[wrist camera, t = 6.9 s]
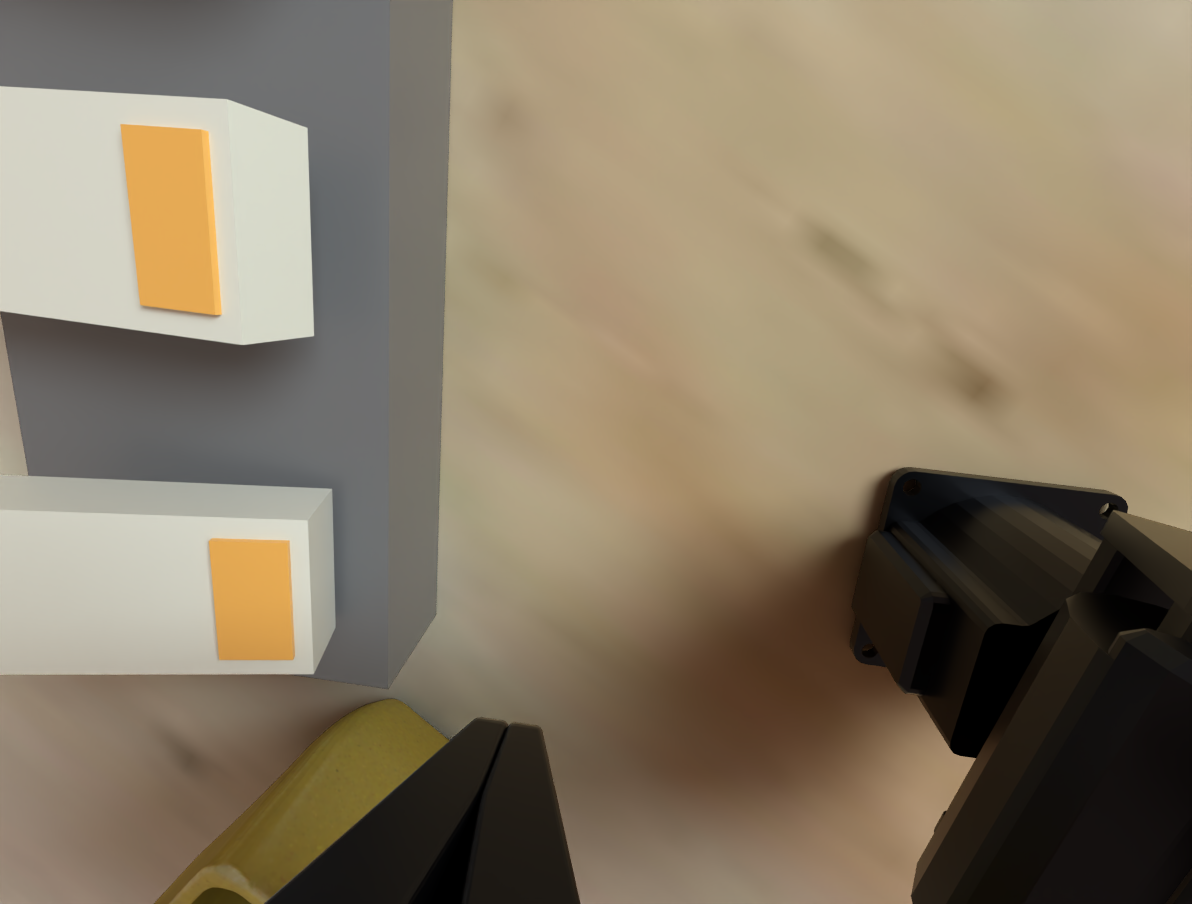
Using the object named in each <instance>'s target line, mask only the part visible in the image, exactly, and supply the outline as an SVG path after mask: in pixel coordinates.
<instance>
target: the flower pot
mask: <svg viewBox="0 0 1192 904" xmlns="http://www.w3.org/2000/svg"><path fill="white" fill-rule="evenodd" d="M448 742H449V740H448V739H447V738H446V737H444V736H443V735H442V734H441V733H439V732H438V731H437V730H436V729H435V728H433V727H432V726H431V725H430V724H429V723H427V722H426V721H425V720H424V719H422V718H421V717H420V716H419V715H418V714H416V713H415V712H414V711H413V710H412V709H411V708H410V707H408V706H407V705H406V704H404V703H403V702H401V701H399V700H396V699H386V700H381V701H377V702H374V703H370V704H367V705H365V706H362V707H360V708H358V709H356V710H354V711H352V712H350V713H349V714H347V715H346V716H344V717H343V718H341V719H340V720H339V721H337V722H336V723H335V724H333V725H332V726H331V727H330V728H328V729H327V730H326V731H325V732H324V733H323V734H322V735H320V736H319V737H318V738H317V739H316V740H315V741H314V742H313V743H312V744H311V745H310V746H309V747H308V748H307V749H306V750H305V751H304V752H303V753H302V754H301V755H300V756H299V757H298V758H297V759H296V760H295V762H294V763H293V764H292V765H291V766H290V767H289V768H288V769H287V770H286V771H285V772H284V773H283V774H282V775H281V776H280V777H279V778H278V779H277V780H276V781H275V782H274V783H273V784H272V785H271V786H270V787H269V788H268V789H267V790H266V791H265V792H264V793H263V794H262V795H261V796H260V797H259V798H258V799H257V800H256V801H255V802H254V803H253V804H252V805H251V806H250V807H249V808H248V809H247V810H246V811H245V812H244V813H243V814H242V815H241V816H240V817H239V818H238V819H237V820H236V821H235V822H233V823H232V824H231V825H230V826H229V827H228V828H227V829H226V830H225V831H224V832H223V833H222V834H221V835H220V836H219V837H218V838H216V839H215V840H214V841H213V842H212V843H211V844H210V845H209V846H208V847H207V848H206V849H205V850H204V851H203V852H202V853H201V854H200V855H199V856H198V857H197V858H196V859H195V860H194V861H193V862H192V863H191V864H190V865H189V866H188V867H187V868H186V869H185V871H184V872H183V873H182V874H181V875H180V876H179V877H178V878H177V879H176V880H175V881H174V882H173V884H172V885H171V886H170V887H169V888H168V889H167V890H166V891H165V892H164V893H163V894H162V896H161V897H160V898H159V899H158V900H157V901H156V902H155V903H154V904H264V903H265V902H266V901H267V900H268V899H269V898H271V897H272V896H273V895H274V894H275V893H276V892H277V891H279V890H280V889H281V888H282V887H283V886H284V885H285V884H287V883H288V882H289V881H290V880H291V879H292V878H293V877H295V876H296V875H297V874H298V873H299V872H300V871H301V870H303V869H304V868H305V867H306V866H307V865H308V864H309V863H311V862H312V861H313V860H314V859H315V858H316V857H317V856H319V855H320V854H321V853H322V852H323V851H324V850H325V849H327V848H328V847H329V846H330V845H331V844H332V843H333V842H334V841H336V840H337V839H338V838H339V837H340V836H341V835H342V834H344V833H345V832H346V831H347V830H348V829H349V828H350V827H352V826H353V825H354V824H355V823H356V822H357V821H358V820H360V819H361V818H362V817H363V816H364V815H365V814H366V813H368V812H369V811H370V810H371V809H372V808H373V807H374V806H376V805H377V804H378V803H379V802H380V801H381V800H382V799H384V798H385V797H386V796H387V795H388V794H389V793H390V792H392V791H393V790H394V789H395V788H396V787H397V786H398V785H400V784H401V783H402V782H403V781H404V780H405V779H406V778H408V777H409V776H410V775H411V774H412V773H413V772H414V771H416V770H417V769H418V768H419V767H420V766H421V765H422V764H424V763H425V762H426V761H427V760H428V759H429V758H430V757H432V756H433V755H434V754H435V753H436V752H437V751H438V750H440V749H441V748H442V747H443V746H444V745H445V744H446V743H448Z"/></svg>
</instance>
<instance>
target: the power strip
mask: <svg viewBox="0 0 1192 904" xmlns="http://www.w3.org/2000/svg"><path fill="white" fill-rule="evenodd" d="M452 5H453V0H0V86H5V87H22V88H40V89H57V90H75V91H93V92H110V93H128V94H145V95H163V96H180V97H198V98H215V99H228V100H231V101H234V102H236V103H239V104H242V105H245V106H248V107H250V108H253V109H256V110H259V111H261V112H264V113H267V114H270V115H273V116H275V117H278V118H281V119H284V120H287V121H289V122H292V123H295V124H298V125H301V126H303V127H306V128H307V129H308V160H309V192H310V223H311V254H312V286H313V317H314V336H311V337H303V338H295V339H287V340H279V341H271V342H263V343H255V344H247V345H239V344H232V343H225V342H217V341H210V340H203V339H196V338H189V337H182V336H175V335H168V334H160V333H153V332H146V331H139V330H132V329H125V328H118V327H110V326H103V325H96V324H89V323H82V322H75V321H68V320H61V319H53V318H46V317H39V316H32V315H25V314H18V313H11V312H4V311H0V313H1V319H2V324H3V330H4V336H5V342H6V348H7V353H8V359H9V365H10V371H11V377H12V382H13V388H14V394H15V400H16V406H17V411H18V417H19V423H20V429H21V434H22V440H23V446H24V452H25V458H26V463H27V469H28V475H29V476H45V477H68V478H92V479H115V480H139V481H162V482H186V483H209V484H233V485H256V486H280V487H303V488H327V489H332V502H333V541H334V581H335V620H336V628H335V630H334V632H333V634H332V636H331V638H330V640H329V643H328V645H327V647H326V649H325V651H324V653H323V655H322V658H321V660H320V662H319V664H318V666H317V668H316V670H315V672H314V674H289V675H296V676H302V677H309V678H316V679H323V680H330V681H337V682H343V683H350V684H357V685H364V686H371V687H378V688H384V689H389V687H390V685H391V684H392V682H393V681H394V679H395V678H396V676H397V675H398V673H399V671H400V670H401V668H402V667H403V665H404V664H405V662H406V661H407V659H408V657H409V656H410V654H411V653H412V651H413V650H414V648H415V647H416V645H417V643H418V642H419V640H420V639H421V637H422V636H423V634H424V633H425V631H426V629H427V628H428V626H429V625H430V623H431V622H432V620H433V619H434V617H435V615H436V596H437V559H438V522H439V485H440V448H441V411H442V374H443V337H444V301H445V264H446V227H447V190H448V153H449V116H450V79H451V42H452Z"/></svg>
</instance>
